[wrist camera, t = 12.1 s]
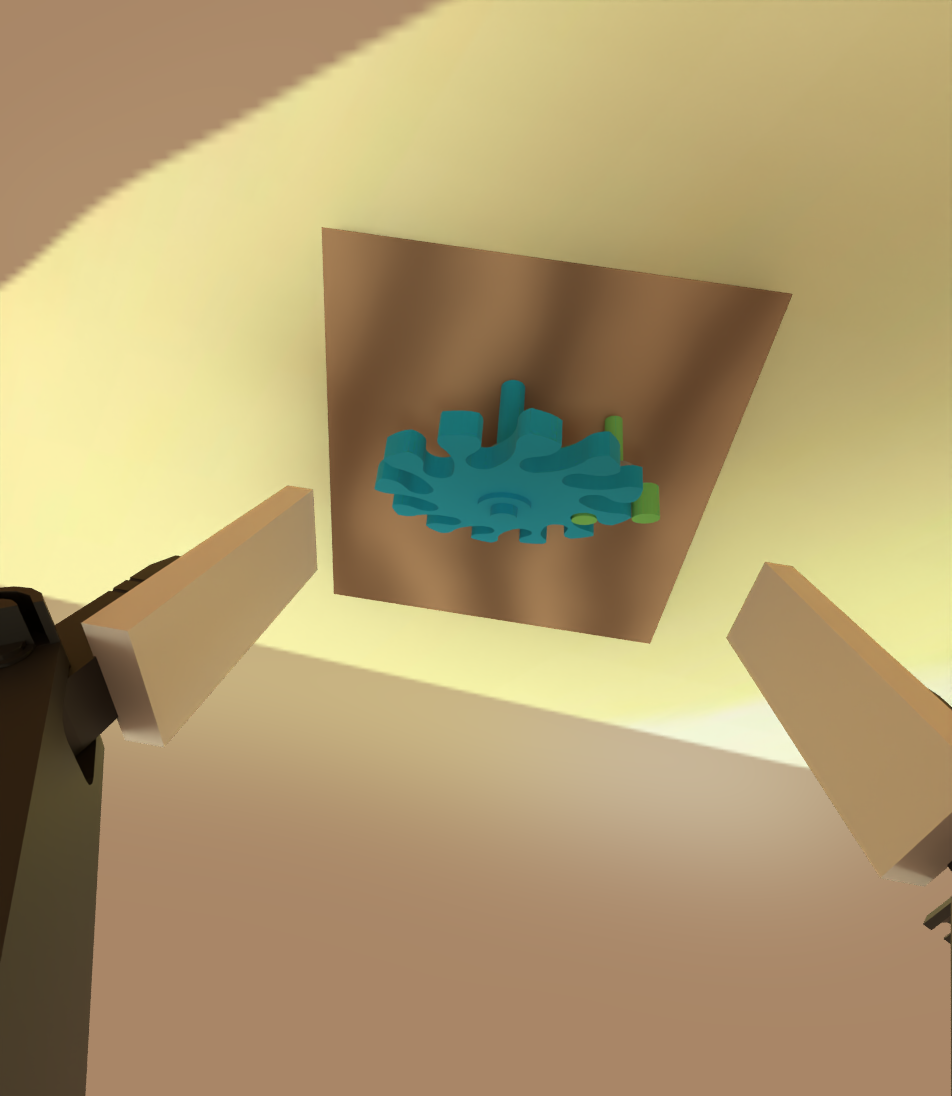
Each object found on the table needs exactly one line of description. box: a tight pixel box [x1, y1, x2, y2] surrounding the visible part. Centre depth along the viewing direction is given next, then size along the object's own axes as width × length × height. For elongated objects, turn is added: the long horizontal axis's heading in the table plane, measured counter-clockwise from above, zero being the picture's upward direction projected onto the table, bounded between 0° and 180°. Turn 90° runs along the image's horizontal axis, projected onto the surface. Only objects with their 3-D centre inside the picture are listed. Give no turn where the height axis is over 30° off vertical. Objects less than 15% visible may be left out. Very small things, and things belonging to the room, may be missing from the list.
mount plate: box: [322, 227, 792, 644], centre depth 21 cm, size 18×17×2 cm
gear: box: [374, 380, 660, 544], centre depth 17 cm, size 11×6×10 cm
